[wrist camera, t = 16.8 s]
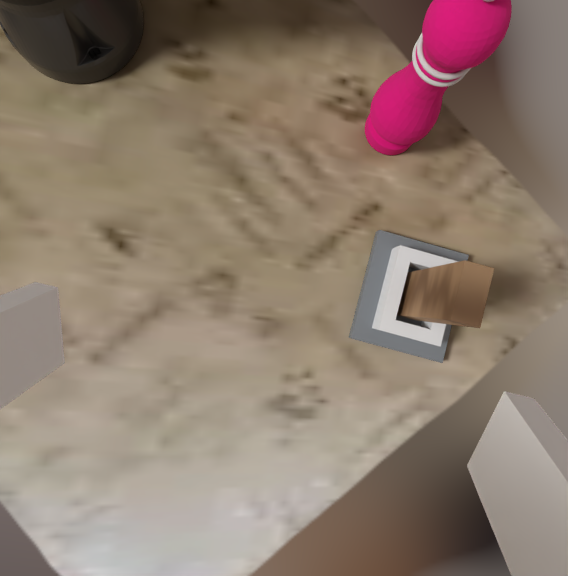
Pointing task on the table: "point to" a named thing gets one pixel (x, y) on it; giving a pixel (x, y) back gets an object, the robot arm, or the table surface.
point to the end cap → (399, 297)
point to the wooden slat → (447, 294)
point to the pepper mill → (434, 69)
